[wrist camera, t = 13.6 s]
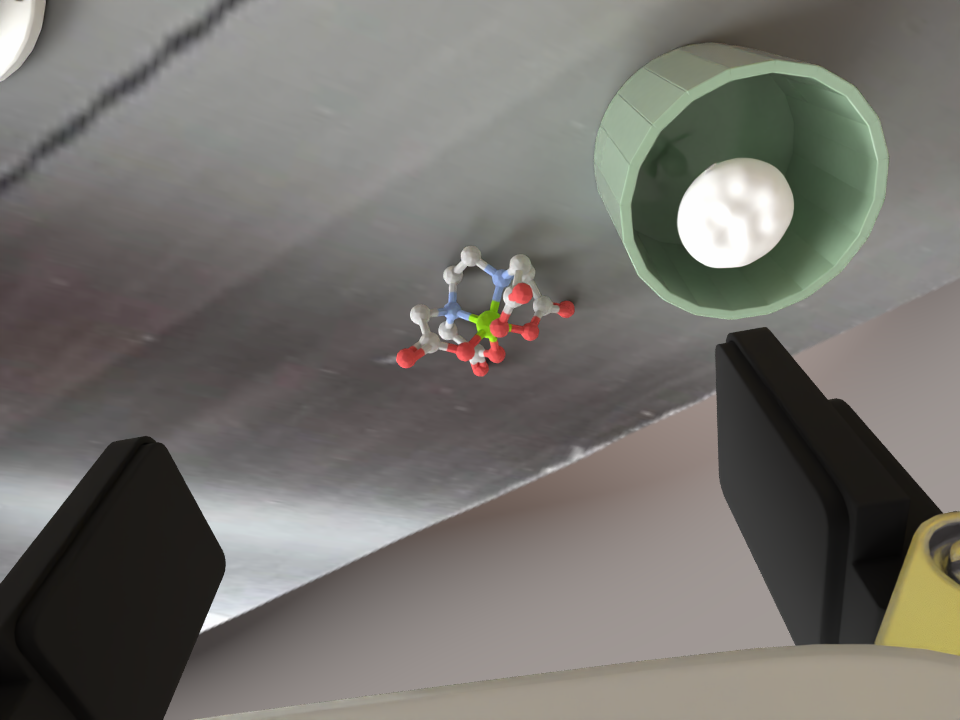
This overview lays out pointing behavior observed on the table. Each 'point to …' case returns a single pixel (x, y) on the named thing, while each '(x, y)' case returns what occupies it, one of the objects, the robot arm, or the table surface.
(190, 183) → the table surface
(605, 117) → the pen holder
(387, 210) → the table surface
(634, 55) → the table surface
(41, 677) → the robot arm
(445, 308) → the molecular model
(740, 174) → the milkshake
